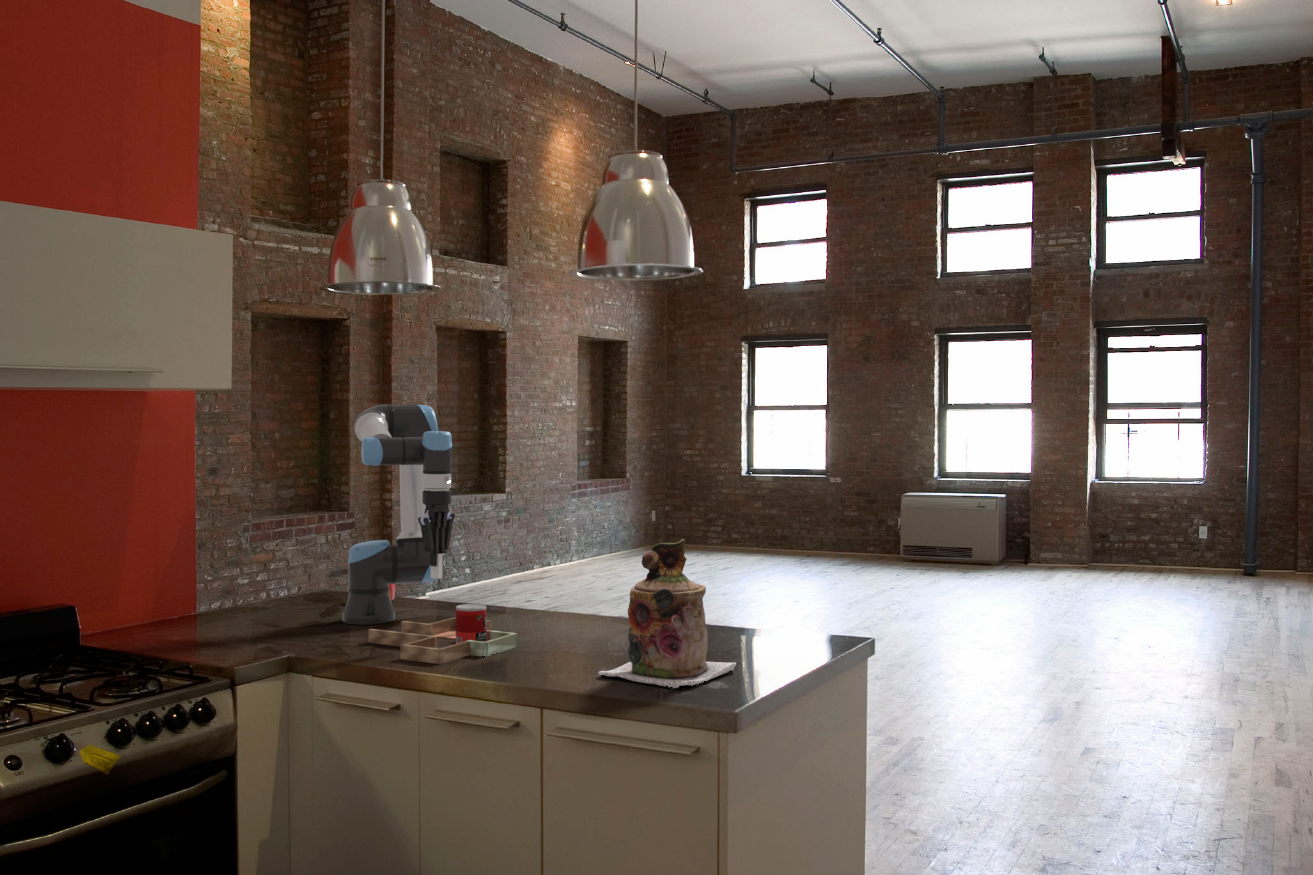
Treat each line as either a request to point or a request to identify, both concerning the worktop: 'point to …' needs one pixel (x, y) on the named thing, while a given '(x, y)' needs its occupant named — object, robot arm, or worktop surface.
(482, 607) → the canned food
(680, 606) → the cookie jar
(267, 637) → the worktop surface
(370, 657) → the worktop surface
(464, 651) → the channel
